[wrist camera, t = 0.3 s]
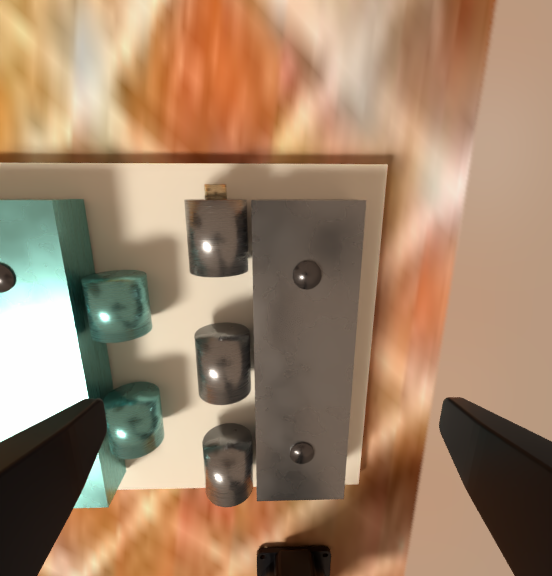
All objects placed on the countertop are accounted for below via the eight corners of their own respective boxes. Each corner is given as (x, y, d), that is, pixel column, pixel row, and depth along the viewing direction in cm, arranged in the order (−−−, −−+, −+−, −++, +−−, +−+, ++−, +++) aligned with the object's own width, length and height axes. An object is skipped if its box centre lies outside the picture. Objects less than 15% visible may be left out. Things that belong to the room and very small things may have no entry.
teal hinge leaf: (175, 470, 25) (161, 511, 22) (32, 472, 25) (-3, 515, 22) (147, 198, 20) (123, 200, 16) (-39, 198, 19) (-100, 200, 16)
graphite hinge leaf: (334, 472, 26) (344, 513, 23) (210, 475, 26) (202, 516, 22) (353, 185, 20) (370, 184, 17) (190, 184, 20) (175, 183, 16)
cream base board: (355, 474, 27) (358, 484, 26) (35, 480, 27) (26, 491, 26) (381, 165, 21) (387, 164, 20) (-47, 163, 20) (-63, 162, 19)
